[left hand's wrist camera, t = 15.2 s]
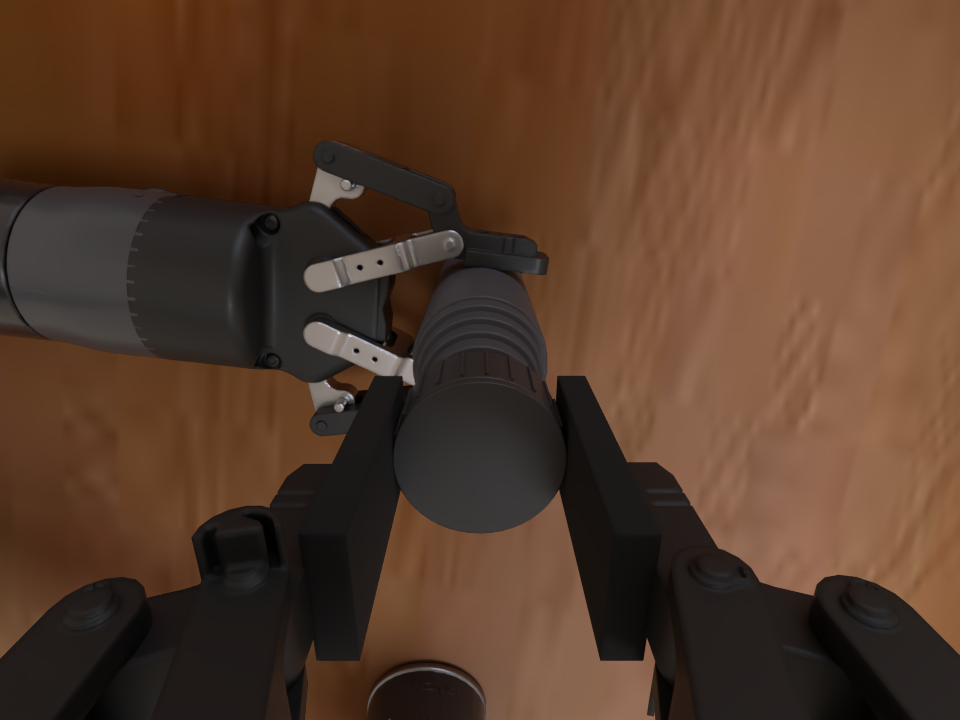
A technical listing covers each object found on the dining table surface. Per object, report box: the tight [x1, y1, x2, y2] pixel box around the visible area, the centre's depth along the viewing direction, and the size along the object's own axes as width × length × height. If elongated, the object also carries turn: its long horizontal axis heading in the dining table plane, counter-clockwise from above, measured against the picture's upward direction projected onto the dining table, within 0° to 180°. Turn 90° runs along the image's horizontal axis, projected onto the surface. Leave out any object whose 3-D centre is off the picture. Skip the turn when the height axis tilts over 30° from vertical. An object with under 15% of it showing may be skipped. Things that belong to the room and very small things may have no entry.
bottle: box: [413, 258, 547, 383], centre depth 22 cm, size 5×5×18 cm
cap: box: [393, 350, 567, 533], centre depth 14 cm, size 4×4×2 cm
